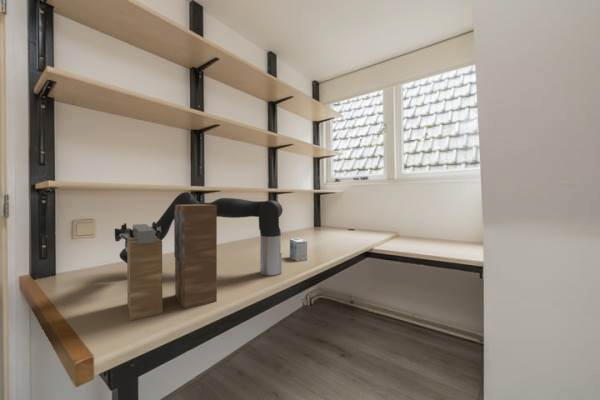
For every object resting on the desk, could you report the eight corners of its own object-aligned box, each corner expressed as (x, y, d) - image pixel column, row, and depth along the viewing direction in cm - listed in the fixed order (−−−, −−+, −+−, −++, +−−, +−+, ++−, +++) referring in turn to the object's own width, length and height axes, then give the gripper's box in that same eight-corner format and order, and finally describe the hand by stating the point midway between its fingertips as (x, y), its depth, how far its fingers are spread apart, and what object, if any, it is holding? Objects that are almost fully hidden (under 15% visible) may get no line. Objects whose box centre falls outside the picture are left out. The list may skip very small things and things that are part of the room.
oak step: (127, 303, 84) (127, 237, 83) (155, 298, 88) (155, 235, 88) (130, 320, 72) (130, 244, 72) (162, 312, 77) (162, 241, 77)
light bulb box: (289, 257, 150) (289, 238, 149) (299, 256, 152) (300, 237, 152) (296, 261, 140) (296, 241, 140) (307, 260, 142) (307, 240, 142)
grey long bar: (132, 234, 90) (132, 224, 90) (146, 233, 93) (146, 224, 93) (138, 243, 73) (138, 231, 73) (154, 242, 75) (154, 230, 75)
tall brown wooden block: (173, 295, 91) (173, 204, 91) (204, 289, 97) (204, 204, 97) (182, 309, 80) (182, 205, 79) (216, 301, 86) (216, 205, 86)
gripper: (114, 235, 98) (114, 216, 86) (156, 232, 106) (162, 214, 95) (114, 254, 95) (115, 236, 83) (158, 249, 103) (164, 233, 92)
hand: (140, 225), depth 89 cm, fingers open, 8 cm apart
